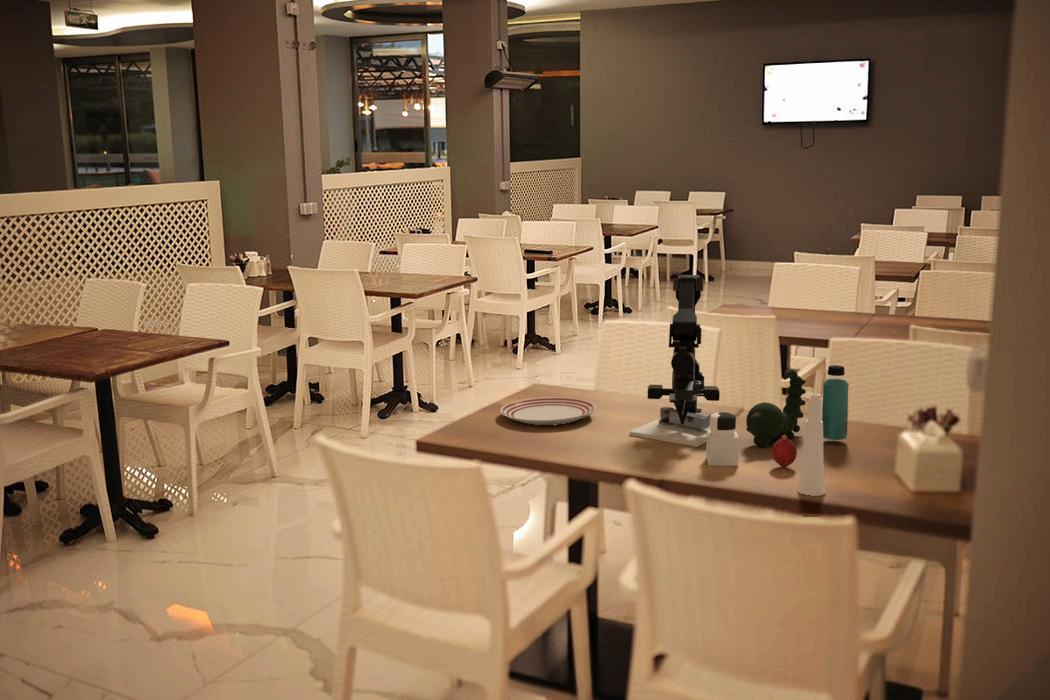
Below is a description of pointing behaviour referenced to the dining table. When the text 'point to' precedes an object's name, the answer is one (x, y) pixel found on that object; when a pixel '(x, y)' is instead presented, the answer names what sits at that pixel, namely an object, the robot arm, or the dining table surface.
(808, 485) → the cosmetic bottle
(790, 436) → the toy figurine
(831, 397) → the beverage bottle
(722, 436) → the medicine bottle
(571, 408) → the dinner plate
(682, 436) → the door board
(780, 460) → the onion
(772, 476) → the dining table surface
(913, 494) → the dining table surface
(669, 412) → the bar
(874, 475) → the dining table surface
